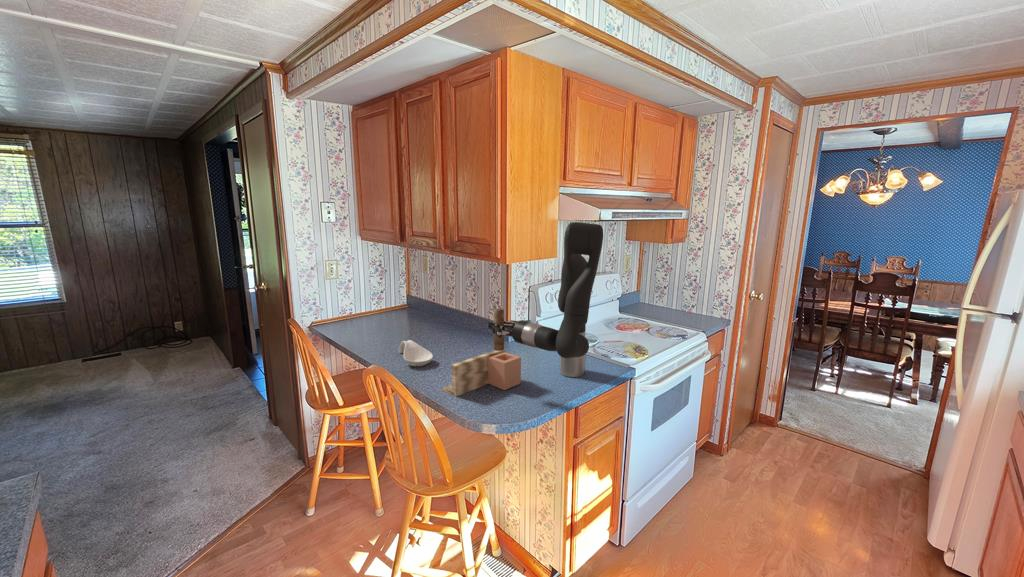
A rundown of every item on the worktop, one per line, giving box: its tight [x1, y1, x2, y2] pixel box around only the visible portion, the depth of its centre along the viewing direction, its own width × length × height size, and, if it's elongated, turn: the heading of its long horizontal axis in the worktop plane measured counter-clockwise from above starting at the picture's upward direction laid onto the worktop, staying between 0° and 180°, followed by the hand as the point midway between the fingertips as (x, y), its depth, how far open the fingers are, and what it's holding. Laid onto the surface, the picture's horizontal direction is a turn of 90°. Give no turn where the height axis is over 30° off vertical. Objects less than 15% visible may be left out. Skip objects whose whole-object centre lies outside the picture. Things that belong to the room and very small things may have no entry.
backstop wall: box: [442, 348, 506, 397], centre depth 157 cm, size 24×7×11 cm, turn 136°
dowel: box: [493, 308, 505, 351], centre depth 148 cm, size 4×4×14 cm
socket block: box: [487, 351, 522, 391], centre depth 157 cm, size 8×8×10 cm
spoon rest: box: [397, 339, 434, 367], centre depth 182 cm, size 24×12×7 cm, turn 35°
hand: (493, 324), depth 150 cm, fingers closed on dowel, 3 cm apart
